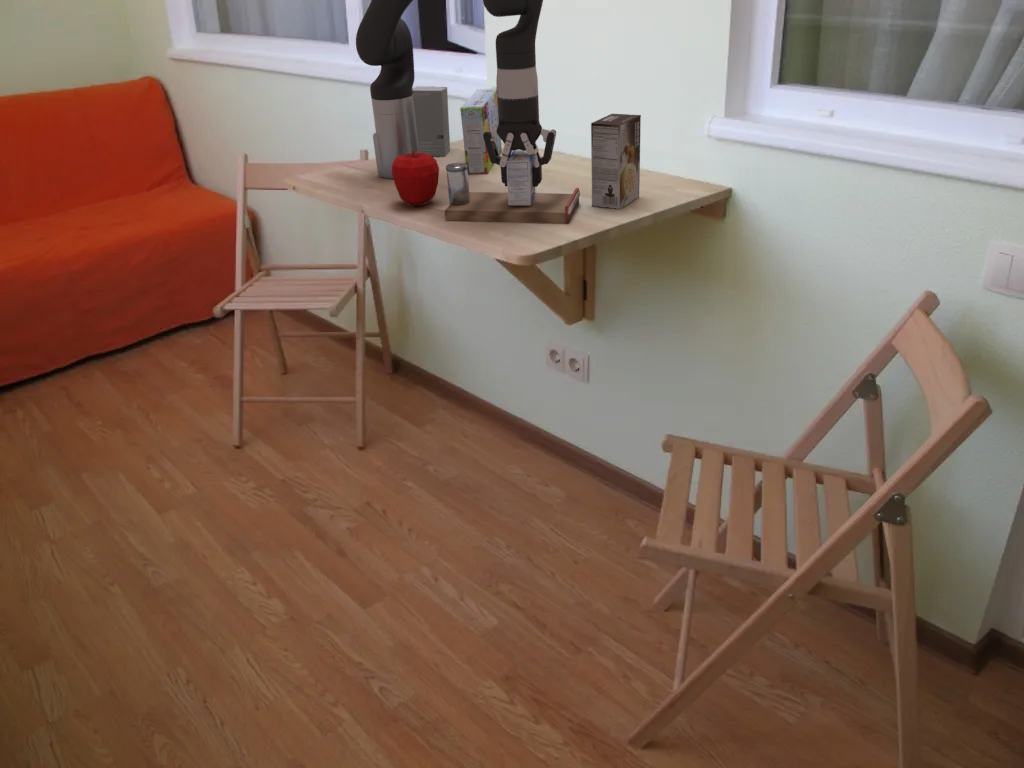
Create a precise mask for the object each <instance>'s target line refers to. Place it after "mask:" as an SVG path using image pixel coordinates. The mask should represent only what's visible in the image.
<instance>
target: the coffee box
mask: <svg viewBox="0 0 1024 768" xmlns="http://www.w3.org/2000/svg"><path fill="white" fill-rule="evenodd" d="M641 117H642V115H641V114H629V113H628V114H626V113H610V114H608V115H606V116H604V117H602V118H600V119H598V120H596V121H593V122H591V123H590V130H591V131H590V136H591V137H590V139H591V141H590V142H591V143H590V145H591V150H590V151H591V152H590V153H591V154H590V155H591V206H592V207H598V206H600V207H599V208H606V207H609V208H608V209H614V208H616V209H615V210H622V208H624V207H626V206H627V205H628V204H630V203H631V202H633V201H634V200H636V199H637V198H640V181H641V180H640V179H641V178H640V176H641V175H640V174H641V172H640V171H641V169H640V168H641V167H640V166H641V165H640V164H641V123H642V122H641V119H642V118H641Z"/></svg>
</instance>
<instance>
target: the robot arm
mask: <svg viewBox="0 0 1024 768" xmlns="http://www.w3.org/2000/svg"><path fill="white" fill-rule="evenodd" d="M413 1H414V0H371V1H370V3H369V5H368V7H367V9H366V10H365V11H366V12H365V13H364V14H363V17H362V19H361V21H360V23H359V25H358V29H357V31H356V34H355V47H356V48H355V49H356V53H357V55H358V57H359V58H360V60H361V61H362V62H363V63H364V64H366V65H368V66H372V67H380V71H379V74H378V76H377V77H376V78H375V80H373V82H372V83H371V84H370V86H369V87H370V89H369V90H370V97H371V105H372V113H373V121H374V127H375V128H374V129H375V132H374V133H373V134H372V141H373V148H374V153H375V154H374V155H375V161H376V162H375V164H376V169H377V170H376V171H377V176H378V178H379V177H382V178H386V179H391V180H392V179H393V177H392V163H393V161H394V160H395V159H396V157H397V156H400V155H405V154H409V153H412V150H413V153H419V146H418V137H417V128H416V118H415V109H414V100H413V91H412V88H414V87H413V86H414V83H415V61H414V59H415V58H414V45H413V38H412V34H411V30H410V29H409V26H408V24H407V23H406V22H405V21H404V19H402V16H403V14H404V12H405V11H406V10H407V8H408V7H409V6H410V5H411V3H412V2H413ZM543 2H544V0H482V3H483V7H485V10H486V11H487V12H488V13H489V14H490V15H491V16H493V17H497V18H502V17H511V16H512V17H513V16H514V17H515V16H519V19H518V21H517V23H516V25H515V26H514V27H512V28H510V29H507V30H504V31H502V32H500V33H499V32H498V34H497V35H496V37H495V56H496V80H495V81H496V88H495V89H496V93H497V102H498V120H499V124H498V127H497V129H494V130H487V131H486V132H485V133H484V134H483V138H484V141H485V145H486V148H487V151H488V155H489V158H490V162H491V163H492V164H493V165H495V164H496V165H498V166H499V167H500V177H501V183H502V184H504V186H505V187H507V161H508V159H509V157H510V156H511V154H512V152H513V151H517V150H523V151H527V153H528V155H529V157H530V158H531V161H532V163H533V166H534V167H533V168H532V170H533V187H535V188H538V187H539V185H541V182H542V180H543V173H542V172H543V171H542V169H543V168H542V166H544V165H548V164H549V163H550V161H551V159H552V155H553V151H554V145H555V143H556V142H555V140H556V137H557V131H556V130H555V129H551V130H549V129H545V128H543V127H542V124H541V123H540V109H539V105H540V103H539V102H540V101H539V79H538V73H537V63H536V38H537V31H538V26H539V20H540V15H541V11H542V9H543V8H542V7H543ZM497 135H498V136H499V137H500V138H501V142H502V143H504V147H503V148H502V151H501V155H500V154H498V150H497V147H496V143H495V141H496V139H497ZM540 136H542V141H543V142H544V143H545V145H544V150H543V151H544V152H543V156H541V155H540V151H539V147H538V145H537V140H538V139H539V138H540Z"/></svg>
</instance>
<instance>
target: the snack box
mask: <svg viewBox="0 0 1024 768" xmlns="http://www.w3.org/2000/svg"><path fill="white" fill-rule="evenodd" d="M459 108H460V109H459V110H460V118H461V119H460V120H461V126H462V127H461V128H462V137H463V147H464V156H465V163H466V164H467V165H468V169H467V171H468V175H472V174H471V173H474V174H473V175H477V174H478V175H479V174H480V175H481V174H482V175H483V174H485V175H486V174H487V175H488V174H489V172H490V171H491V169H492V167H493V165H494V164H492V163H491V162H490V158H489V155H488V151H487V148H486V145H485V141H484V138H483V134H484V133H485V132H486V131H487V130H494V129H497V127H498V124H499V120H498V102H497V93H496V88H484V89H483V88H482V89H481V88H480V89H476V91H474V93H473V94H471V95H470V97H468V99H467V100H466V101H465V102H464V103H463V104H462V105H461V106H460V107H459ZM495 143H496V147H497V150H498V154H499V155H500V154H502V152H503V148H502V140H501V138H500V137H499V136H498V135H497V139H496V141H495ZM475 173H476V174H475Z"/></svg>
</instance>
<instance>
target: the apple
mask: <svg viewBox="0 0 1024 768" xmlns="http://www.w3.org/2000/svg"><path fill="white" fill-rule="evenodd" d="M439 175H440V167H439V164H438V162H437V159H436V158H435V157H434V156H431V155H430V154H427V153H413V150H412V153H409V154H405V155H400V156H397V157H396V159H395V160H394V161H393V163H392V177H393V183H394V186H395V188H396V191H397V192H398V195H399V198H400V199H401V201H403V202H405V203H406V204H407V205H408V206H410V207H418V206H419V207H420V206H423V205H425V204H426V205H427V204H428V203H429V202H430V201H431V200H432V199H434V198H435V196H436V193H437V188H438V185H439V179H440V178H439Z"/></svg>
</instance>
